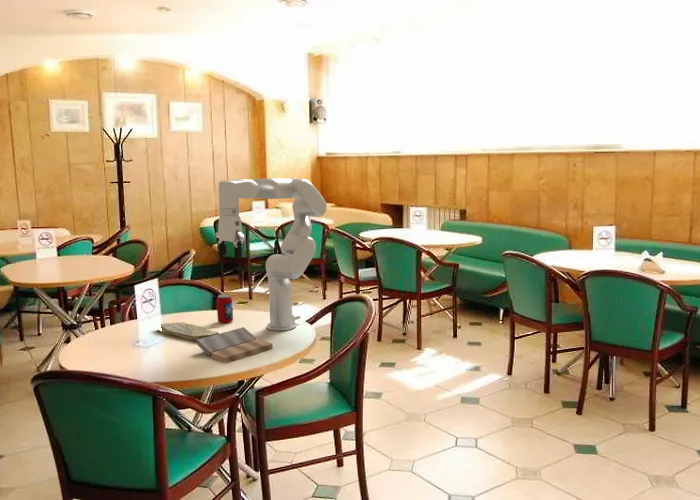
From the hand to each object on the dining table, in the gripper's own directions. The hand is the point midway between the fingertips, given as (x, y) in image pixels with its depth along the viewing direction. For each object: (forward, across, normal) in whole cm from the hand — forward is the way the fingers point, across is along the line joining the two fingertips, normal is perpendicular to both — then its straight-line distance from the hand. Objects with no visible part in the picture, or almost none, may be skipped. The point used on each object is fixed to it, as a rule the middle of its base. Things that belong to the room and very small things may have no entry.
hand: (230, 256), depth 253 cm
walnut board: (+35, -15, +6) cm, 38 cm away
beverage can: (+34, +27, -16) cm, 46 cm away
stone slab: (+35, +24, +6) cm, 43 cm away
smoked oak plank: (+33, -5, +7) cm, 34 cm away
